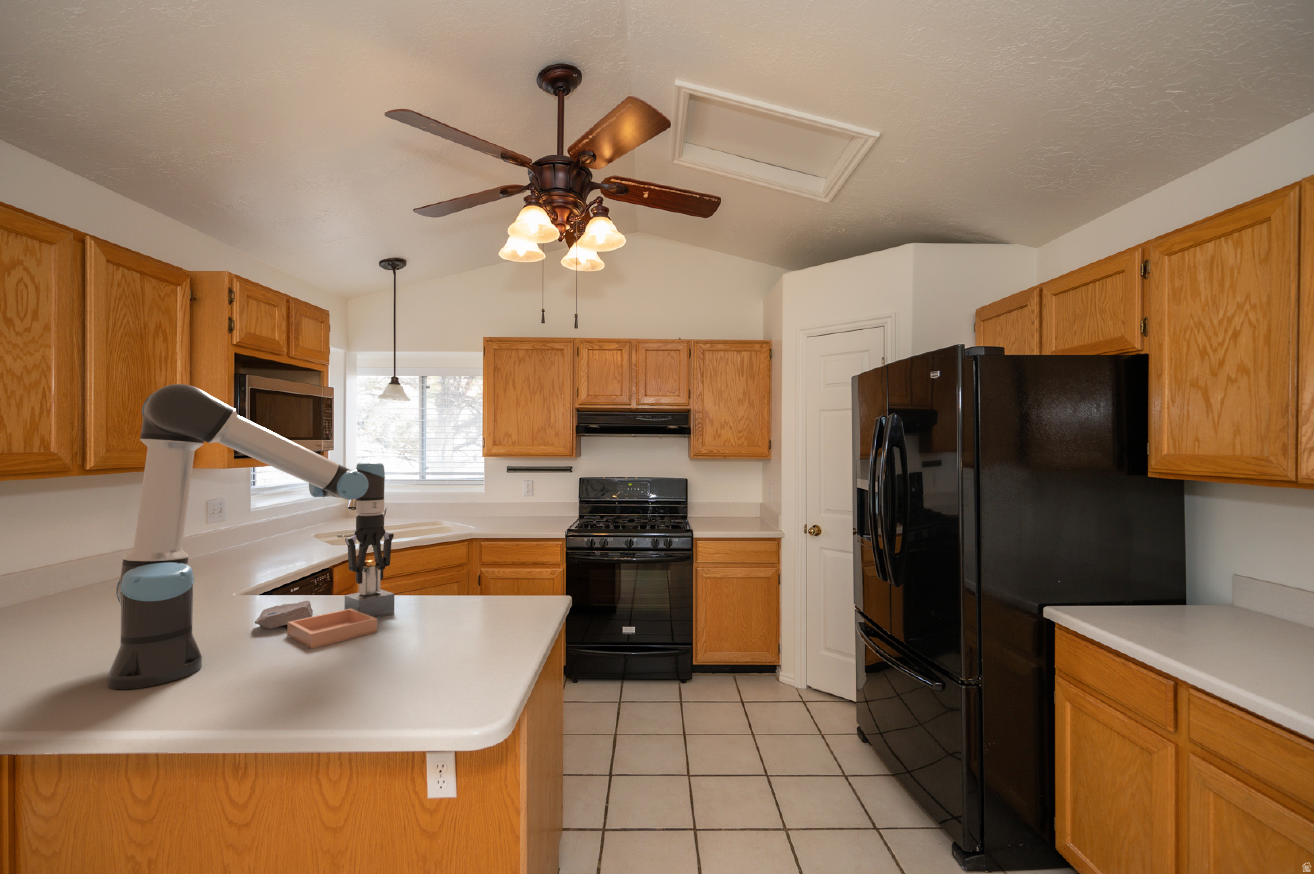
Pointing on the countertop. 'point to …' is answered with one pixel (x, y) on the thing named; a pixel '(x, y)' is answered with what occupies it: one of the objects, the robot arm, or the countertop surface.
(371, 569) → the pin
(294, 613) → the decorative stone
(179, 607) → the robot arm
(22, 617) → the countertop surface
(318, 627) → the tray
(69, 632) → the countertop surface
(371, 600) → the block
